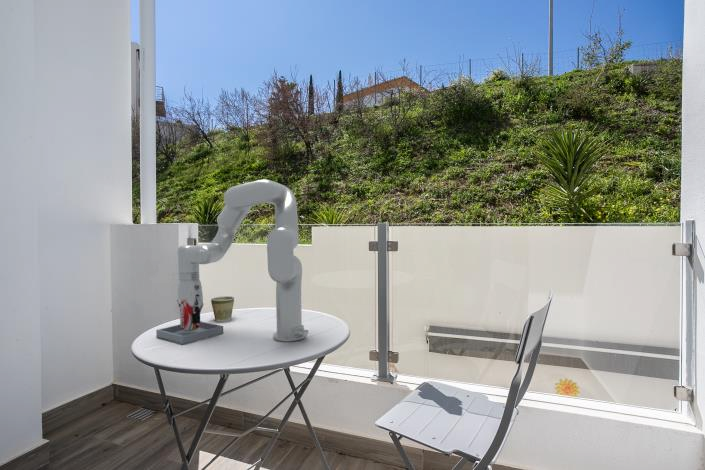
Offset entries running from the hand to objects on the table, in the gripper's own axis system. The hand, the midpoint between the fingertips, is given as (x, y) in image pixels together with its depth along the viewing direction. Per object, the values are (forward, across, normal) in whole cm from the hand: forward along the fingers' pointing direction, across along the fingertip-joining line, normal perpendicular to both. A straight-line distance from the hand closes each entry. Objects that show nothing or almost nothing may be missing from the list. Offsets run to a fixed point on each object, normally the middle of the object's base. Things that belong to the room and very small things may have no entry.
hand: (190, 321), depth 156 cm
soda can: (+3, 0, 0) cm, 3 cm away
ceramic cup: (+6, +10, -24) cm, 27 cm away
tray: (+5, 0, 0) cm, 5 cm away
